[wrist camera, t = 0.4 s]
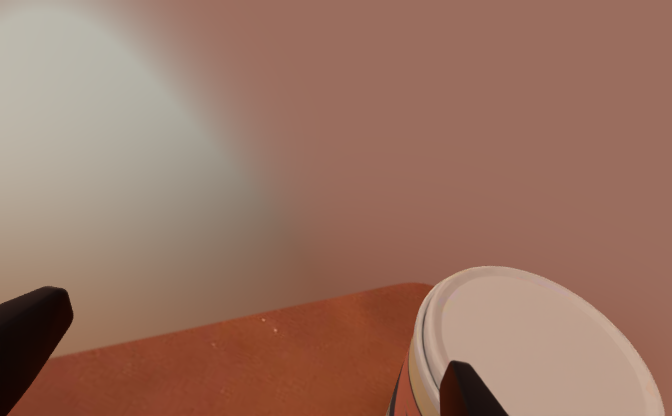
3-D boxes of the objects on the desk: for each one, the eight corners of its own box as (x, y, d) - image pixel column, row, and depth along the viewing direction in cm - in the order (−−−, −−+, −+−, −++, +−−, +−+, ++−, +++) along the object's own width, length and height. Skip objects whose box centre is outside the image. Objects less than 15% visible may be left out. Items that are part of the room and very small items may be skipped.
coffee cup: (365, 371, 25) (409, 248, 18) (497, 387, 26) (595, 273, 18) (366, 556, 18) (442, 479, 11) (551, 574, 18) (751, 512, 11)
